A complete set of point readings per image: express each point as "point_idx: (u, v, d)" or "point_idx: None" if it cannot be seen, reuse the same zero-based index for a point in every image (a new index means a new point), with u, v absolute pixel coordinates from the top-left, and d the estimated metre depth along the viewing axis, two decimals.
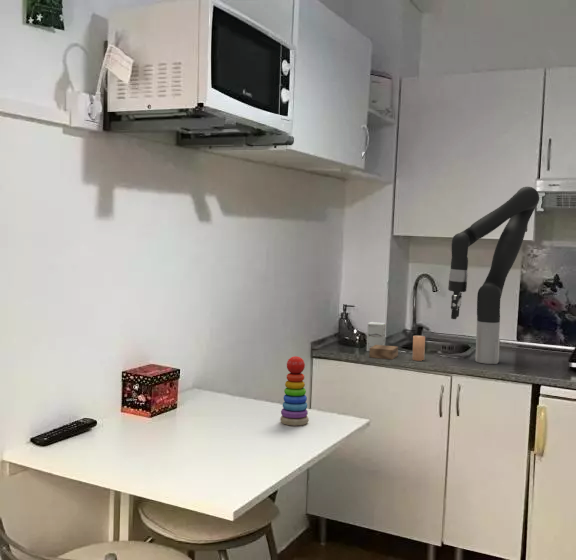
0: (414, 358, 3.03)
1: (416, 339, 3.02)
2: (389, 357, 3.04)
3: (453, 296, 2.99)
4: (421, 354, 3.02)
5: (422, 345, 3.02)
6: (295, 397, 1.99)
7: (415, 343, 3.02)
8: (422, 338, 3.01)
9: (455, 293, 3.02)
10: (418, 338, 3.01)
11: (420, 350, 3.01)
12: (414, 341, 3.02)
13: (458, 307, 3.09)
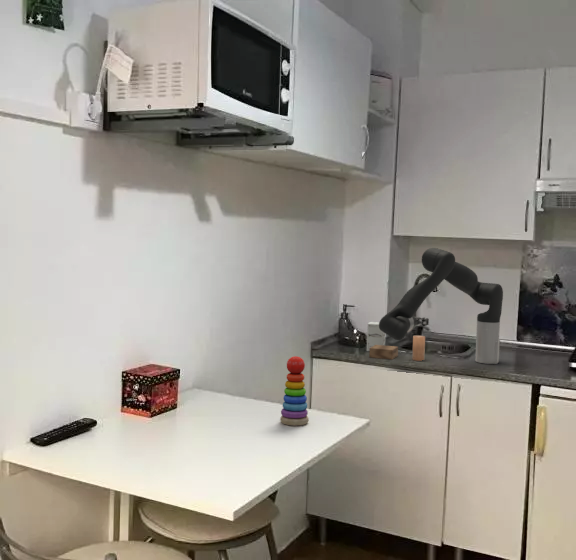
0: (414, 358, 3.03)
1: (416, 339, 3.02)
2: (389, 357, 3.04)
3: (425, 324, 2.81)
4: (421, 354, 3.02)
5: (422, 345, 3.02)
6: (295, 397, 1.99)
7: (415, 343, 3.02)
8: (422, 338, 3.01)
9: (416, 322, 2.81)
10: (418, 338, 3.01)
11: (420, 350, 3.01)
12: (414, 341, 3.02)
13: None
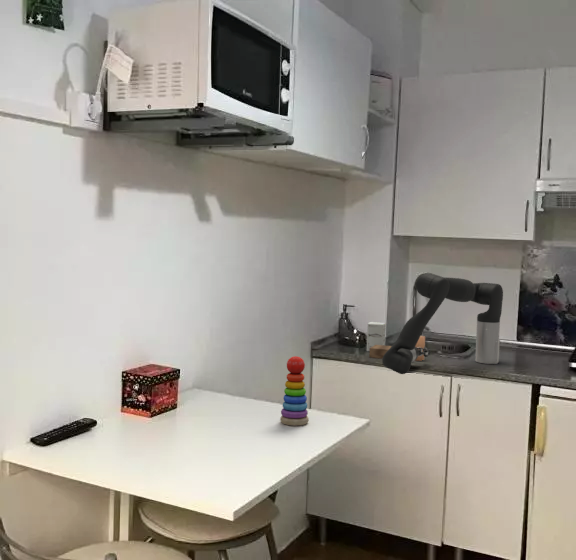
0: None
1: None
2: None
3: (427, 355, 2.85)
4: None
5: (422, 345, 3.02)
6: (295, 397, 1.99)
7: None
8: (422, 338, 3.01)
9: (419, 353, 2.86)
10: None
11: None
12: None
13: None
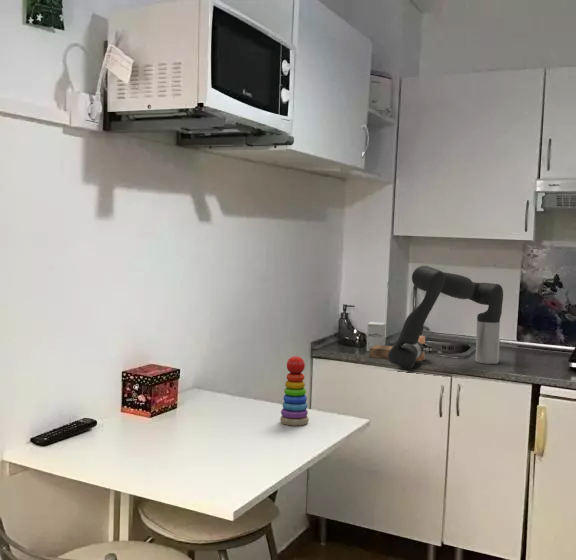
0: None
1: None
2: None
3: (431, 350, 2.95)
4: (421, 354, 3.02)
5: None
6: (295, 397, 1.99)
7: None
8: (422, 338, 3.01)
9: (423, 350, 2.94)
10: None
11: None
12: None
13: None
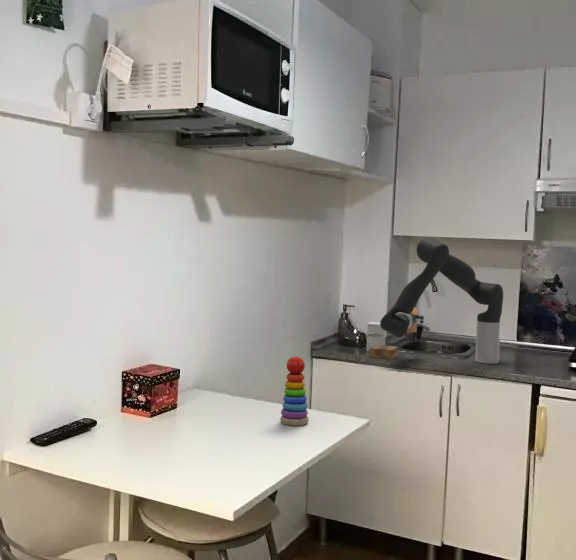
0: None
1: None
2: (389, 357, 3.04)
3: (423, 321, 2.95)
4: (413, 325, 3.02)
5: None
6: (295, 397, 1.99)
7: None
8: (414, 309, 3.01)
9: (415, 320, 2.94)
10: None
11: None
12: None
13: None
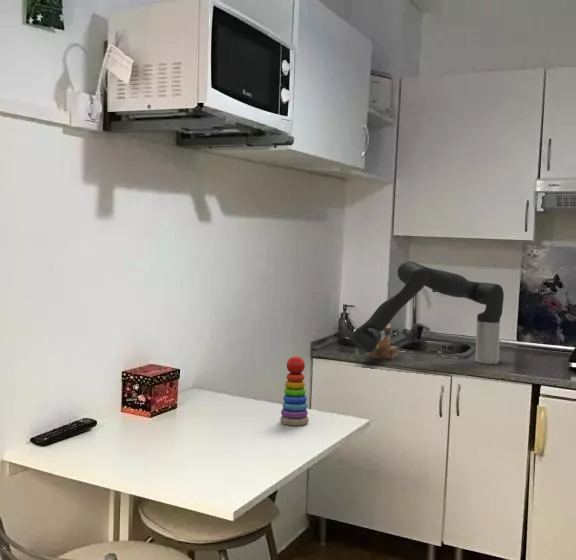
0: (380, 346, 3.08)
1: None
2: (389, 357, 3.04)
3: (395, 335, 2.99)
4: (386, 342, 3.07)
5: None
6: (295, 397, 1.99)
7: None
8: (387, 326, 3.06)
9: (388, 333, 2.99)
10: None
11: (386, 338, 3.07)
12: None
13: None
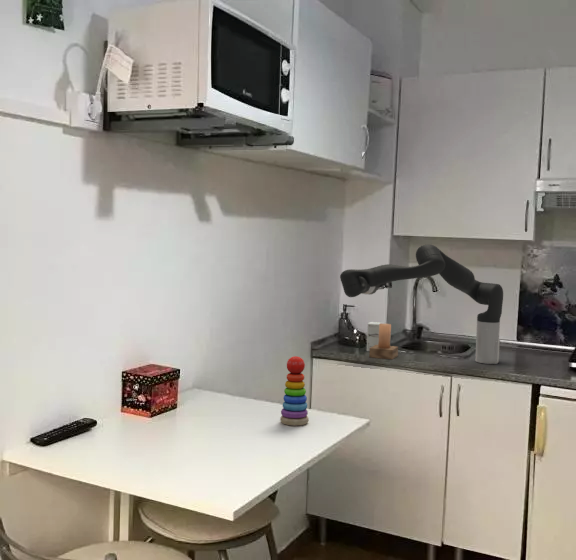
0: (380, 345, 3.08)
1: (382, 327, 3.07)
2: (389, 357, 3.04)
3: (387, 285, 2.90)
4: (386, 342, 3.07)
5: (388, 333, 3.07)
6: (295, 397, 1.99)
7: (381, 331, 3.07)
8: (388, 326, 3.06)
9: (379, 285, 2.90)
10: (384, 326, 3.06)
11: (386, 338, 3.07)
12: (380, 329, 3.08)
13: None
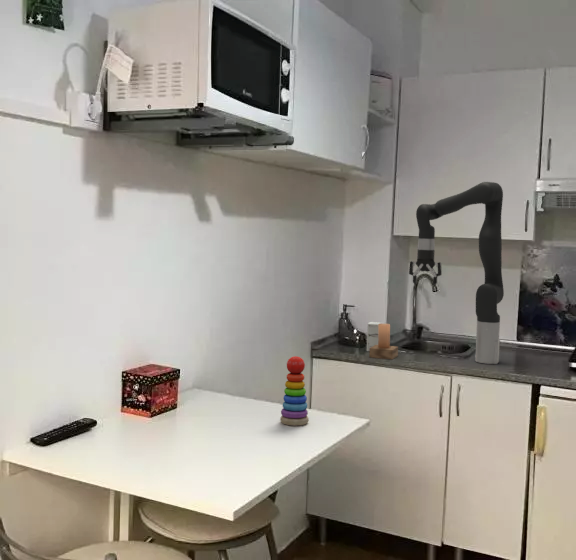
0: (379, 345, 3.08)
1: (380, 327, 3.07)
2: (389, 357, 3.04)
3: (440, 263, 3.21)
4: (386, 341, 3.07)
5: (387, 333, 3.07)
6: (295, 397, 1.99)
7: (380, 331, 3.07)
8: (386, 326, 3.06)
9: (433, 261, 3.22)
10: (382, 326, 3.06)
11: (385, 337, 3.07)
12: (379, 329, 3.08)
13: None
